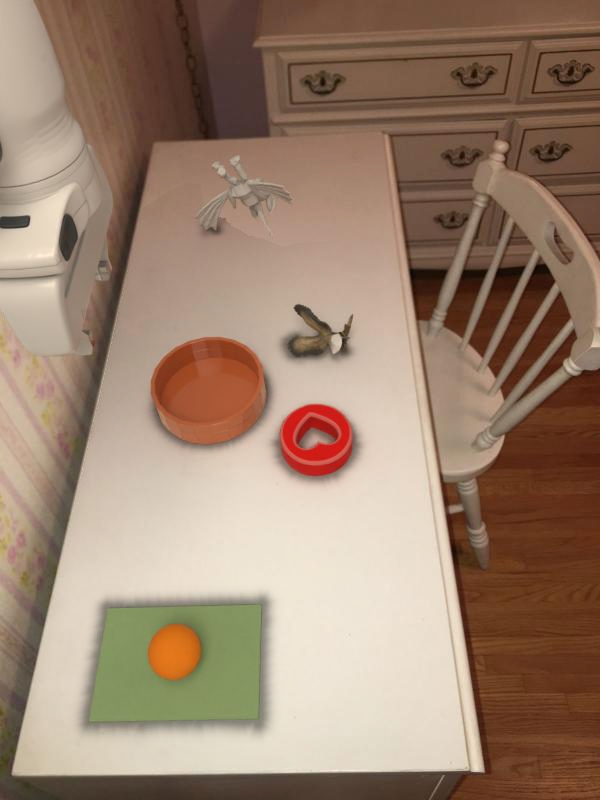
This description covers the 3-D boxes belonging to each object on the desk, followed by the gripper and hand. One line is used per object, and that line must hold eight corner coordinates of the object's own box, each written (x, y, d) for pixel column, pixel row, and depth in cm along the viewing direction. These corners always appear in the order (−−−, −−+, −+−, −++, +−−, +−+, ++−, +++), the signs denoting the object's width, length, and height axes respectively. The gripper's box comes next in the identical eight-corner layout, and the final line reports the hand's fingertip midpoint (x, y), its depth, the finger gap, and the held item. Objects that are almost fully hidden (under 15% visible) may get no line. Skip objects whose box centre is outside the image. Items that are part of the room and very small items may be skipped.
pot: (199, 465, 86) (193, 447, 83) (137, 395, 94) (129, 376, 90) (288, 401, 92) (286, 382, 88) (223, 340, 99) (218, 320, 96)
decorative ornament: (322, 404, 91) (322, 390, 89) (366, 449, 86) (367, 437, 84) (267, 439, 88) (265, 427, 86) (309, 489, 83) (309, 477, 81)
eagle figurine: (350, 318, 99) (293, 306, 99) (356, 310, 92) (294, 297, 92) (341, 366, 99) (283, 354, 98) (345, 362, 92) (283, 349, 91)
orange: (173, 697, 69) (161, 684, 64) (145, 656, 72) (131, 641, 67) (215, 661, 71) (206, 646, 66) (186, 622, 74) (176, 606, 69)
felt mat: (89, 722, 68) (88, 721, 68) (108, 608, 75) (107, 608, 75) (258, 719, 68) (258, 718, 67) (261, 605, 75) (261, 604, 74)
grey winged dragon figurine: (309, 227, 110) (271, 177, 98) (220, 256, 117) (174, 212, 105) (307, 181, 114) (270, 127, 102) (220, 212, 121) (176, 165, 109)
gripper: (30, 112, 56) (82, 239, 67) (-41, 277, 43) (36, 398, 55) (103, 108, 55) (142, 236, 66) (51, 274, 43) (110, 395, 54)
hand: (94, 310), depth 60 cm, fingers open, 8 cm apart
